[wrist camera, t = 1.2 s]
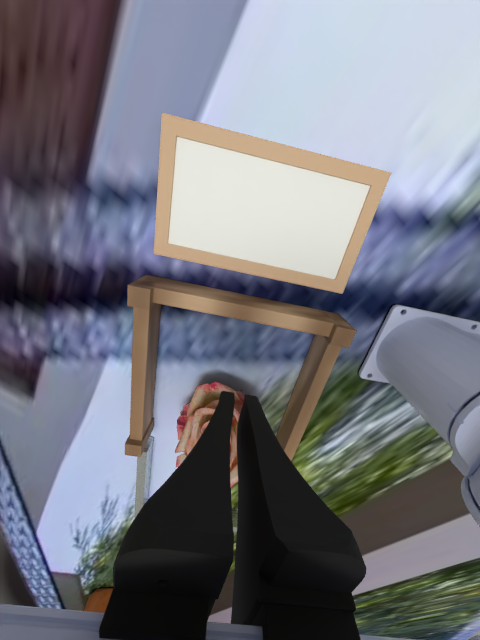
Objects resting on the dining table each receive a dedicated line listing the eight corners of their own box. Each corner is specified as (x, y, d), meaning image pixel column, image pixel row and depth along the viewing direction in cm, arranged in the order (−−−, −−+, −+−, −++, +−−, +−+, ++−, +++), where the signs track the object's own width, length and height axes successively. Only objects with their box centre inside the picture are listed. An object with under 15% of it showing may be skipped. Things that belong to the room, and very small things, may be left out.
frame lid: (385, 174, 17) (391, 172, 16) (339, 291, 20) (342, 293, 19) (165, 117, 15) (162, 112, 15) (156, 252, 19) (153, 253, 18)
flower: (283, 435, 25) (284, 462, 18) (218, 479, 25) (194, 523, 18) (238, 365, 27) (222, 364, 20) (180, 405, 27) (144, 418, 20)
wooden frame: (338, 313, 21) (356, 330, 17) (283, 447, 28) (289, 477, 24) (146, 274, 19) (127, 285, 16) (139, 425, 26) (124, 454, 23)
